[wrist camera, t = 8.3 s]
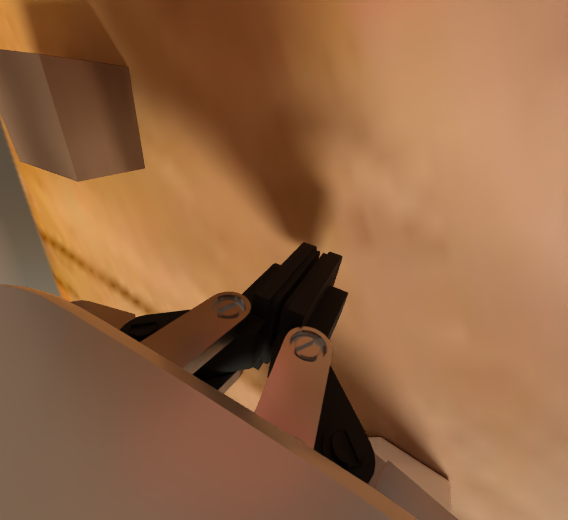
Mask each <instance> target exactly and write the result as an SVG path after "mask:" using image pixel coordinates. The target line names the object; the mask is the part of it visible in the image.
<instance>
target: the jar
mask: <svg viewBox="0 0 568 520" xmlns="http://www.w3.org/2000/svg"><path fill="white" fill-rule="evenodd" d="M368 438H369V440H370V443H371V445H372V448H373V450H374V453H375V454H377V455H378V456H379V457H380V458H381V459H382V460H383V461H385V462H387V461H388V460H389V461H390V462H392V463H393V464H394V465H395V466H396V467H397V468H399V469H400V470H401V471H402V472H403V473H404V474H406V475H407V476H408V477H409V478H410V479H411V480H413V481H414V482H415V483H416V484H417V485H418V486H420V487H421V488H422V489H423V490H424V491H425V492H427V493H428V494H429V495H430V496H431V497H432V498H434V499H435V500H436V501H437V502H438V503H439V504H441V505H442V506H443V507H444V508H445V509H446V510H448V511H449V512H450V513H451V514H452V505H451V486H450V483H449V481H448V480H447V479H445V478H444V477H442V476H441V475H439V474H438V473H436V472H434V471H433V470H431V469H430V468H428V467H427V466H425V465H424V464H422V463H420V462H419V461H417V460H416V459H414V458H413V457H411V456H410V455H408V454H407V453H405V452H403V451H402V450H400V449H399V448H397V447H396V446H394V445H393V444H391V443H390V442H388V441H387V440H385V439H383V438H382V437H368Z"/></svg>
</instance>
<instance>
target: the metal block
mask: <svg viewBox="0 0 568 520" xmlns="http://www.w3.org/2000/svg"><path fill="white" fill-rule="evenodd" d="M0 113H1V116H2V118H3V121H4V123H5V126H6V128H7V131H8V133H9V136H10V138H11V140H12V143H13V145H14V148H15V150H16V153H17V155H18V158H19V160H20V161H21V162H24V163H27V164H29V165H32V166H35V167H38V168H41V169H44V170H46V171H49V172H52V173H55V174H58V175H61V176H63V177H66V178H69V179H72V180H75V181H77V182H79V181H84V180H89V179H94V178H99V177H104V176H109V175H114V174H119V173H124V172H129V171H134V170H139V169H144V168H145V165H144V159H143V153H142V147H141V141H140V135H139V129H138V123H137V117H136V111H135V105H134V99H133V93H132V87H131V81H130V75H129V68H128V67H126V66H119V65H112V64H105V63H98V62H91V61H84V60H77V59H70V58H63V57H56V56H49V55H42V54H35V53H26V52H18V51H10V50H1V49H0Z"/></svg>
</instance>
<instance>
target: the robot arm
mask: <svg viewBox="0 0 568 520" xmlns="http://www.w3.org/2000/svg"><path fill="white" fill-rule="evenodd" d="M319 255H320V251H317V247H316V246H313V245H311V244H308V243H305V242H303V243H302V244H301V245H300V246H299V247H298V248H297V249H296V250H295V251H294V252H293V253H292V254H291V256H290V257H289V258H288V259H287V260H286V261H285V262H284V263H283V264H282V265H279V264H276V263H275V264H273V265H272V266H271V267H270V268H269V269H268V270H267V271H266V272H265V273H263V274H262V275H261V276H260V277H259V278H258V279H257V280H256V281H255V282H254V283H253V284H252V285H251V286H250V287H249V288H248V289H247V290H246V291H245V292H244V293H243V294H239V293H236V292H222V293H218V294H216V295H214V296H212V297H210V298H209V299H207V300H206V301H204V302H203V303H201V304H199V305H198V306H196V307H195V308H193V309H191V310H184V311H175V312H167V313H158V314H150V315H144V316H139V317H135V314H133V313H129V312H126V311H122V310H118V309H115V308H111V307H108V306H104V305H101V304H97V303H94V302H90V301H84V300H80V301H73V302H69V301H67V300H65V299H63V298H61V297H58V296H55V295H53V294H50V293H47V292H44V291H40V290H36V289H32V288H28V287H22V286H14V285H3V284H0V520H458V519H457V518H456V517H455V516H453V515H452V514H451V513H450V512H449V511H448V510H446V509H445V508H444V507H443V506H442V505H441V504H439V503H438V502H437V501H436V500H435V499H434V498H432V497H431V496H430V495H429V494H428V493H427V492H425V491H424V490H423V489H422V488H421V487H420V486H418V485H417V484H416V483H415V482H414V481H413V480H411V479H410V478H409V477H408V476H407V475H406V474H404V473H403V472H402V471H401V470H400V469H399V468H397V467H396V466H395V465H394V464H393V463H392V462H390V461H389V460H388V461H387V462H385V461H383V460H382V459H381V458H380V457H379V456H378V455H377V454H375V453H374V450H373V448H372V445H371V443H370V440H369V438H368V437H367V435H366V433H365V431H364V429H363V427H362V425H361V423H360V421H359V419H358V417H357V415H356V414H355V412H354V410H353V408H352V406H351V404H350V402H349V400H348V398H347V396H346V394H345V393H344V391H343V389H342V387H341V385H340V383H339V381H338V379H337V377H336V375H335V373H334V371H333V370H332V368H331V366H330V362H331V357H332V346H331V343H330V341H329V340H330V337H331V335H332V333H333V331H334V328H335V326H336V324H337V322H338V319H339V317H340V314H341V312H342V309H343V306H344V304H345V301H346V298H347V295H348V292H345V291H343V290H340V289H338V288H335V287H333V285H334V282H335V279H336V276H337V273H338V270H339V267H340V264H341V261H342V256H341V255H338V254H335V253H332V252H329V253H328V254H325V253H323V254H322V255H321V256H320V258H319ZM270 360H271V362H270ZM263 362H264V363H265V364H268V363H269V362H270V367H269V372H268V380H267V383H266V385H265V388H264V390H263V393H262V395H261V398H260V400H259V402H258V405H257V407H256V410H255V412H252V411H251V410H249V409H247V408H246V407H244V406H242V405H241V404H239V403H238V402H236V401H234V400H233V399H231V398H229V397H228V396H226V395H225V394H224V393H225V392H226V391H227V390H228V389H229V388H230V387H231V386H232V385H233V384H234V383H235V382H236V381H237V379H238V378H239V377H240V376H241V375H242V373H243V371H244V370H245V369H249V368H252V367H254V368H256V369H257V370H259V368H260V367H261V365H262V364H263Z"/></svg>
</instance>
